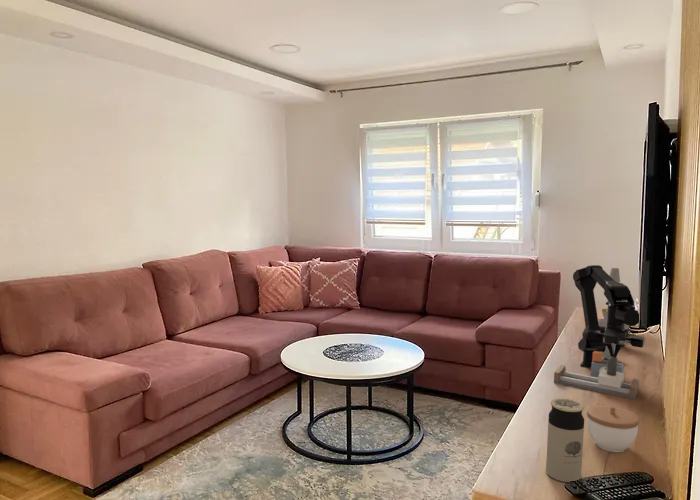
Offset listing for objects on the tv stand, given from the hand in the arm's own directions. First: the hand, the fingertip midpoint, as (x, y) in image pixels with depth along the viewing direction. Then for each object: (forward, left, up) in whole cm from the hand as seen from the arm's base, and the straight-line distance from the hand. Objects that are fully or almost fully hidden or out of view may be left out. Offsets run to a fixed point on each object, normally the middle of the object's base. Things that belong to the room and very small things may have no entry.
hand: (613, 360), depth 193 cm
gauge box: (0, -2, -7) cm, 8 cm away
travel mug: (+80, +1, -8) cm, 80 cm away
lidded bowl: (+57, +8, -8) cm, 58 cm away
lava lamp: (-54, -9, -8) cm, 55 cm away
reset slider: (0, -6, -1) cm, 6 cm away
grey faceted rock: (-27, -6, -8) cm, 29 cm away
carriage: (+11, +1, -5) cm, 12 cm away
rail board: (+11, -4, -7) cm, 14 cm away
